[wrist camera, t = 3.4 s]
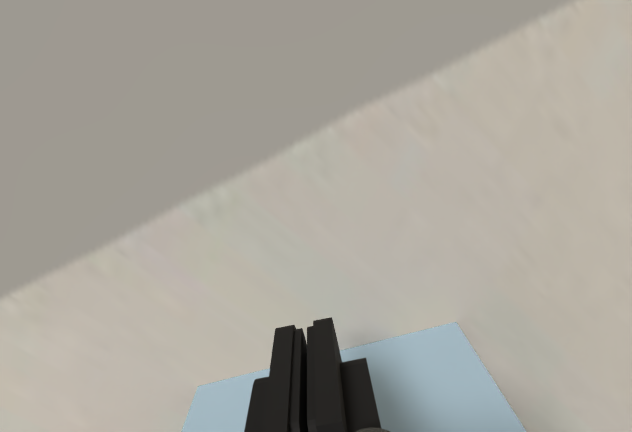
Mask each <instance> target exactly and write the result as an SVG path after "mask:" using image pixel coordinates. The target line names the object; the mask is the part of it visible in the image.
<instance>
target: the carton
mask: <svg viewBox="0 0 632 432" xmlns="http://www.w3.org/2000/svg"><path fill="white" fill-rule="evenodd" d="M340 355H341V359H342V362H346V361H351V360H356V359H361V358H366V360H367V364H368V369H369V374H370V378H371V383H372V387H373V392H374V397H375V401H376V406H377V410H378V415H379V419H380V424H381V428H382V429H385V430H387V431H390V432H526V430H525V429H524V427H523V426H522V424H521V422H520V421H519V419H518V418H517V416H516V415H515V413H514V412H513V410H512V408H511V407H510V405H509V404H508V402H507V401H506V399H505V397H504V396H503V394H502V393H501V391H500V390H499V388H498V387H497V385H496V383H495V382H494V380H493V379H492V377H491V376H490V374H489V373H488V371H487V369H486V368H485V366H484V365H483V363H482V362H481V360H480V359H479V357H478V355H477V354H476V352H475V351H474V349H473V348H472V346H471V344H470V343H469V341H468V340H467V338H466V337H465V335H464V334H463V332H462V330H461V329H460V327H459V326H458V324H457V323H456V322H454V323H450V324H446V325H442V326H438V327H434V328H430V329H426V330H422V331H418V332H414V333H409V334H405V335H401V336H397V337H393V338H389V339H385V340H381V341H377V342H373V343H369V344H365V345H361V346H357V347H353V348H349V349H345V350H341V351H340ZM269 372H270V368H269V369H265V370H261V371H257V372H253V373H249V374H245V375H241V376H237V377H233V378H229V379H225V380H221V381H217V382H213V383H209V384H205V385H201V386H198V388H197V391H196V393H195V396H194V399H193V401H192V404H191V407H190V410H189V412H188V415H187V418H186V420H185V423H184V426H183V429H182V431H181V432H244V430H245V425H246V419H247V414H248V408H249V403H250V398H251V392H252V387H253V383H254V380H255V379H258V378H263V377H269Z"/></svg>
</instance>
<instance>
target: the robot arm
mask: <svg viewBox="0 0 632 432" xmlns="http://www.w3.org/2000/svg"><path fill="white" fill-rule="evenodd" d="M244 432H390V431H387V430H385V429H382V428H381V424H380V419H379V415H378V410H377V406H376V401H375V397H374V392H373V387H372V383H371V378H370V374H369V369H368V364H367V360H366V358H361V359H356V360H351V361H346V362H342V359H341V355H340V351H339V346H338V342H337V337H336V333H335V329H334V324H333V320H332V317H331V318H326V319H321V320H316V321H313V326H311V327H307V344H306V340H305V336H304V332H303V329H302V328H301V329H296V328H295V325H291V326H286V327H281V328H276V329H275V335H274V343H273V350H272V358H271V365H270V372H269V377H263V378H258V379H255V380H254V383H253V387H252V392H251V398H250V403H249V408H248V414H247V419H246V425H245V430H244Z"/></svg>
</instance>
